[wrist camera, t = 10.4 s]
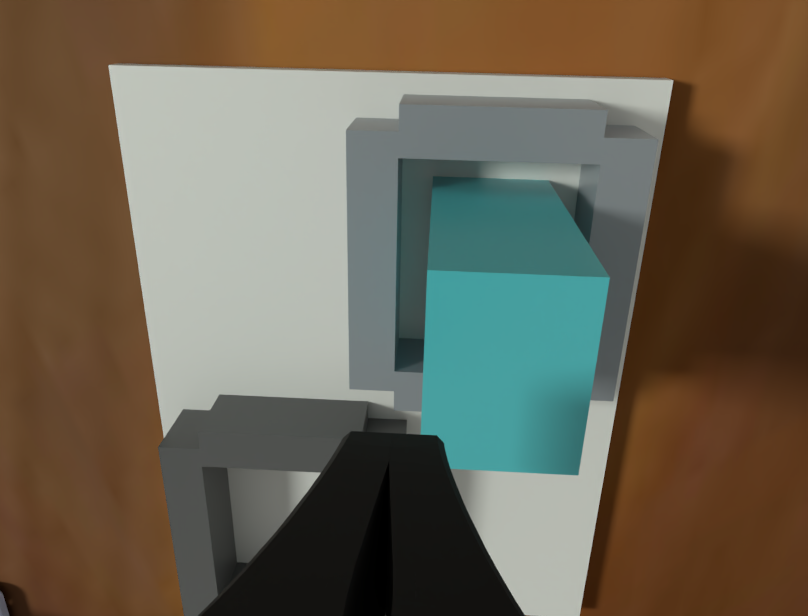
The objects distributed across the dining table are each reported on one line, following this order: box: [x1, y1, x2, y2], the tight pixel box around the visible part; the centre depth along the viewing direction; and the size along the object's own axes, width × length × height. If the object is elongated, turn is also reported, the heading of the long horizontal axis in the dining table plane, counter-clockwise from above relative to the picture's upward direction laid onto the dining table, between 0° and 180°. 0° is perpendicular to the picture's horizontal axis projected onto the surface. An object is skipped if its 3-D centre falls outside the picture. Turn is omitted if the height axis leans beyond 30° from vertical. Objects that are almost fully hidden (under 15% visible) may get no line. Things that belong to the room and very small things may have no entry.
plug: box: [421, 176, 610, 475], centre depth 15 cm, size 4×3×7 cm
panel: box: [108, 63, 673, 616], centre depth 19 cm, size 18×14×3 cm
